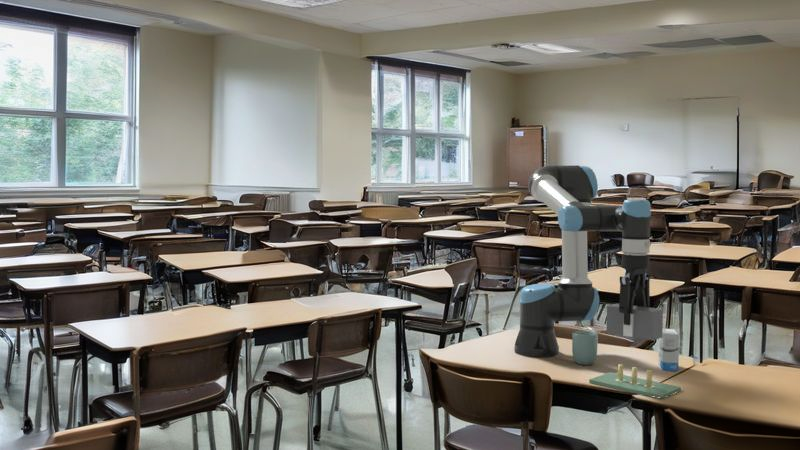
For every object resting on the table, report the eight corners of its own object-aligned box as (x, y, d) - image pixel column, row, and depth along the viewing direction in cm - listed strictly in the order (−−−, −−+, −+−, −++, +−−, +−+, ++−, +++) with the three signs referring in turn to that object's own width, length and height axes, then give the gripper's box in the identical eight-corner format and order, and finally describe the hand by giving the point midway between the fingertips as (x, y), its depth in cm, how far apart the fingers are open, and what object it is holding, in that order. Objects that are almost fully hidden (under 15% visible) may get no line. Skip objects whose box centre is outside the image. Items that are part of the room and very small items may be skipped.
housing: (606, 333, 206) (606, 305, 206) (616, 330, 210) (617, 303, 210) (652, 340, 196) (652, 311, 195) (662, 337, 200) (662, 309, 200)
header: (589, 382, 207) (589, 364, 207) (610, 375, 216) (610, 357, 216) (661, 399, 192) (662, 379, 192) (681, 390, 200) (681, 371, 200)
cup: (601, 363, 230) (601, 333, 230) (589, 368, 225) (590, 336, 224) (579, 359, 236) (580, 329, 235) (567, 363, 230) (568, 333, 229)
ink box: (678, 371, 221) (679, 334, 220) (662, 370, 222) (663, 333, 221) (673, 364, 229) (674, 328, 229) (657, 364, 230) (658, 328, 230)
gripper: (631, 256, 193) (629, 341, 194) (663, 252, 206) (662, 331, 207) (606, 255, 198) (604, 337, 199) (639, 251, 211) (638, 328, 212)
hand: (634, 334), depth 203 cm, fingers closed on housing, 6 cm apart
